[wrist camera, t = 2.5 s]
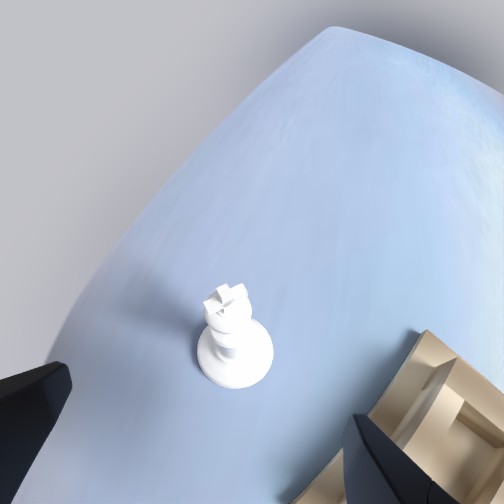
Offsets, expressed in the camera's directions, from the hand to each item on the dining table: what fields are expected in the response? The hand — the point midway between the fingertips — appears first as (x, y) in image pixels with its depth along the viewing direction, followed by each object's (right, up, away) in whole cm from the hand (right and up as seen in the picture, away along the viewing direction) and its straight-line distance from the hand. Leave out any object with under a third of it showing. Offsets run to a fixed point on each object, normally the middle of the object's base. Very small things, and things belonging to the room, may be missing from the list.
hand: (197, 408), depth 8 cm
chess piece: (0, -2, +12) cm, 12 cm away
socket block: (+14, -11, +7) cm, 19 cm away
